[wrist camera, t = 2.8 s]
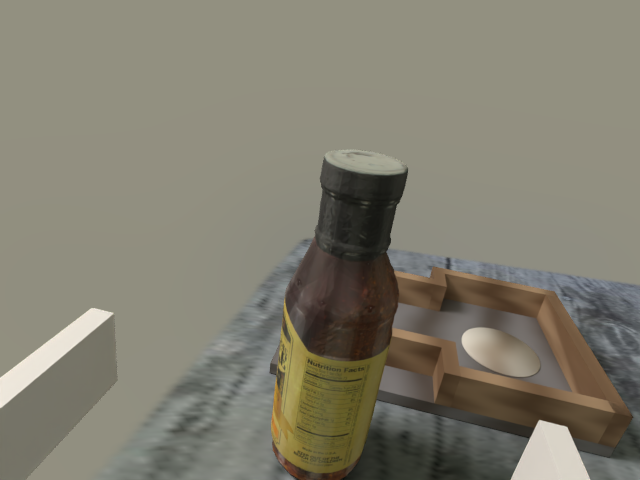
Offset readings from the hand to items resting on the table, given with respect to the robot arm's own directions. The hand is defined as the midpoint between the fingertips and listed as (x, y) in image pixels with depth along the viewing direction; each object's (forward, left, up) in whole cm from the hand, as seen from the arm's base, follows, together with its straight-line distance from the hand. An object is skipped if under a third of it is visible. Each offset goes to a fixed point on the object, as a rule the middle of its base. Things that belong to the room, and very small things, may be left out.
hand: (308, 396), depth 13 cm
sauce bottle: (0, -11, -15) cm, 18 cm away
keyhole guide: (-8, -26, -14) cm, 30 cm away
